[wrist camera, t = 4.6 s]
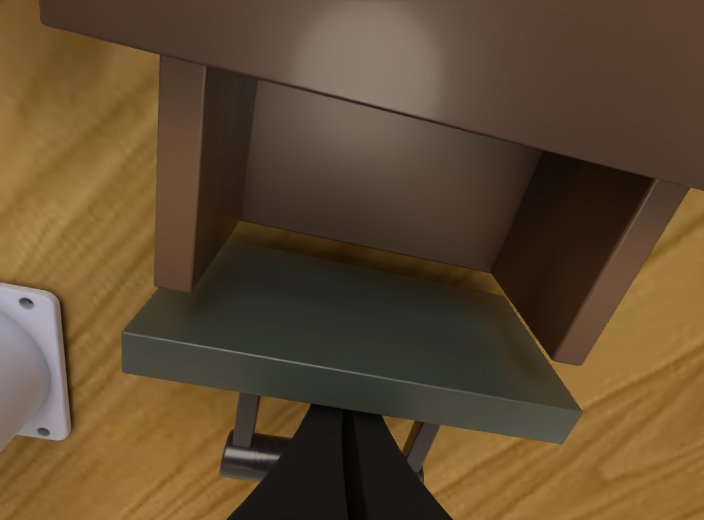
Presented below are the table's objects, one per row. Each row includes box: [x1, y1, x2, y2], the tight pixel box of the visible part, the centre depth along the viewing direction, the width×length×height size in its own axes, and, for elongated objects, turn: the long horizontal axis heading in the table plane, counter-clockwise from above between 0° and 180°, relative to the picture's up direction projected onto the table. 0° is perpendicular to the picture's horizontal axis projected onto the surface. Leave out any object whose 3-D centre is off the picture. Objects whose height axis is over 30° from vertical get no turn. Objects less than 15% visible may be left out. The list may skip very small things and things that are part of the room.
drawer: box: [122, 55, 690, 484], centre depth 11 cm, size 18×11×6 cm, turn 167°
